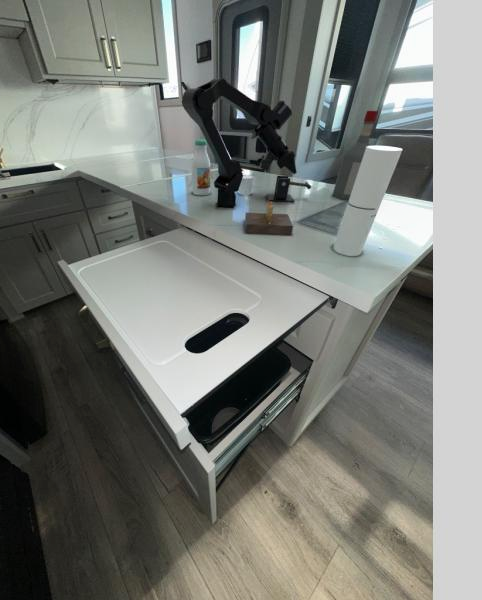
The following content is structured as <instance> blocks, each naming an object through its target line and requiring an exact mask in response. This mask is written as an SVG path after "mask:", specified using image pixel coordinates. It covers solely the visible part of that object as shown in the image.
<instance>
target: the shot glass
mask: <svg viewBox="0 0 482 600" xmlns="http://www.w3.org/2000/svg"><path fill="white" fill-rule="evenodd" d="M255 179H256V177H255V176H254V175H250V174H243V178H242V181H241V184H240V187H239V190H238V191H237V192H238V194H239V195H242V196H250V195H252V193H253V189H254V184H255Z"/></svg>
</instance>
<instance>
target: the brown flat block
mask: <svg viewBox="0 0 482 600" xmlns="http://www.w3.org/2000/svg"><path fill="white" fill-rule="evenodd" d="M265 215H266V212H264V213H263V212H245V215H244V231H245V234H253V235H254V234H256V235H275V236H276V235H277V236H279V235H280V236H292V233H293V229H294V225H293V223H292V220H291V218H290V215H289V214H288V213H272V220H271V222H267V221H266V216H265Z"/></svg>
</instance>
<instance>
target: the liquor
mask: <svg viewBox="0 0 482 600" xmlns="http://www.w3.org/2000/svg"><path fill="white" fill-rule="evenodd" d="M365 112H366V113H365V116H364V119H363V124H362V127H361V129H360V133H359V136H358V139H357V140H356V141H355V143H353V144H352V145H351V146H350V147H349V148H347V150H345V152H344V153H343V157H342V161H341V165H340V167H339V171H338V174H337V178H336V181H335V183H334V184H335V185H334V188H333V192H332V197H334V198H336V199H338V200H341V201H348V202H349V198H350V195H351V192H352V189H353V186H354V183H355V180H356V177H357V174H358V171H359V168H360V165H361V162H362V159H363V156H364V153H365V150H366V147H367V146H371V145H370V143H369V142H370V136H371V134H372V131H373V127H374V125H375V122H376V119H377V116H378V114H379V110H366V111H365Z"/></svg>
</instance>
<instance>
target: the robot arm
mask: <svg viewBox="0 0 482 600" xmlns="http://www.w3.org/2000/svg"><path fill="white" fill-rule="evenodd" d="M219 99H220V100H222V101H223V102H224V103H226V104H228V105H230V106H231V107H233V108H235V109H236V110H237V111H239V112H241V114H243V117H244V119H245V120H246V121H247V122H248V123H250V124H251V125H256V126H257V125H258V127H256V128H253V129H252V130H251V132H252V134H251V140H254V139H256V138H259V140H260V141H261V143H262V144H263V145H264V147H265V149H266V152H265V155H264V156H263V158H262V159H261V161H260V162H259V168H260V169H262V170H263V171H265V172H269V170H270V167H271V165H272V164H273V162H275V161H276V162H275V163H276V166H278V168H279V169H280V170H281V169H283V168H284V167H285V168H286V169H287V170H288V171H290V172H291V173H292V174H293V175H296V174H297V173H298V171H297V166H296V162H295V157H296V154H295V153H294V151H293V150H292V149H289V147H288V145H287V144H286V142H285V141H284V140H283V138H282V136H281V135H280V134H279V133H278V131H279V130H281V129H282V128H283V127H284V126H285V124H286V123H287V122H288V121H289V120H290V119H291V118H292V115H293V112H292V109H291V108H290V107H289V105H287V103H285V100H279V101H278V102H277V103H276V105H275V106H274V107H273V108H271V106H270V105H269V104H267V103H265V102H262V101H258V100H254V99H252V98H250V97H249V96H247V95H246V94H245V93H243V92H242V91H240V90H239V89H238V88H236V87H235V86H233V85H232V84H230V83H229V82H228V81H227V80H226V79H225V78H223V77H217V78H215V77H214V78H212V79H211V80H210V81H208V82H206V83H204V84H202V85H200V86H198V87H196V88H187V89H186V90H185V91H184V92H183V94H182V99H181V104H182V107H183V109H184V111H185V112H186V113H187V115H188V116H189V117H190V118H191V119H192V120H193V121H194V123H195V124H197V126H198V127H199V129H200V131H201V133H202V135H203V137H204V140H206V141H207V145H208V147H209V149H210V151H211V153H212V155H213V158H214V159H215V161H216V163H217V173H218V176H217V177H216V178H215V180H214V181H213V185H214V188H215V189H217V204H216V208H218V209H234V208H235V207H236V201H237V193H238V192H239V191H238V190H239V187H240V184H241V181H242V178H243V175H244V173H243V172H244V169H242V166H241V163H240V161H239V160H237V159H233V158H231V156H230V153H229V151H228V149H227V147H226V145H225V143H224V141H223V138H222V136H221V133H220V132H219V129H218V126H217V124H216V122H215V120H214V117H213V113H214V111H213V110H214V109H213V104H215V103H216V102H217V101H218V100H219Z"/></svg>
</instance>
